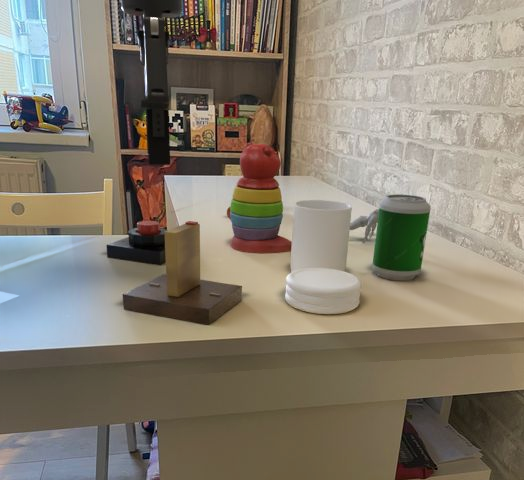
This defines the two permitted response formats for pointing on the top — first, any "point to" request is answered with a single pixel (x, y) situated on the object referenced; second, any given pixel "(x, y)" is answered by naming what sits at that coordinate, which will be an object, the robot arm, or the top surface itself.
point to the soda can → (400, 236)
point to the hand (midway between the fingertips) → (158, 158)
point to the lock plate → (183, 300)
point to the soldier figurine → (366, 223)
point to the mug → (320, 234)
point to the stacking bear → (258, 203)
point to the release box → (139, 248)
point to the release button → (148, 227)
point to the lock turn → (182, 258)
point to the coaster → (322, 290)
